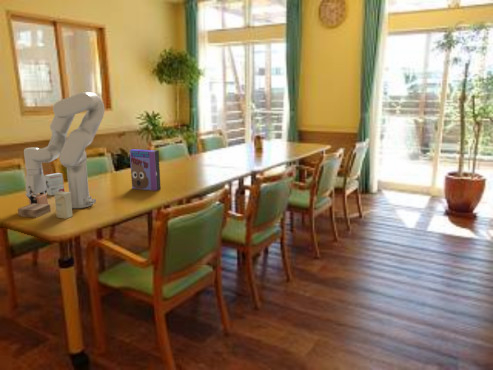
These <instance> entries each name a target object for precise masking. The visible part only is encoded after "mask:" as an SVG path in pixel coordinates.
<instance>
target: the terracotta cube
mask: <svg viewBox="0 0 493 370" xmlns="http://www.w3.org/2000/svg"><path fill="white" fill-rule="evenodd" d="M32 196H33V197H34V195H32ZM36 200H37V204H49V203H48V202H49V201H48V194H47V193H46V194H36ZM28 201H29V202H28V203H29V205H30V204H31V200H30V199H29V198H28Z"/></svg>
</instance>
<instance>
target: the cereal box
mask: <svg viewBox="0 0 493 370" xmlns="http://www.w3.org/2000/svg"><path fill="white" fill-rule="evenodd" d="M159 154H160V152H159V150H154V149H153V150H151V149H148V150H147V149H137V148H136V149H135V148H134V149H130V150H129V161H130V162H129V163H130V164H129V165H130V175H131V176H130V177H131V189H132V190H133V189H134V190H135V189H136V190H140V191H141V190H144V191H150V192H151V191H152V192H157V190H158V191H159V190H162V189H161V172H160V171H161V170H160V155H159Z"/></svg>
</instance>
